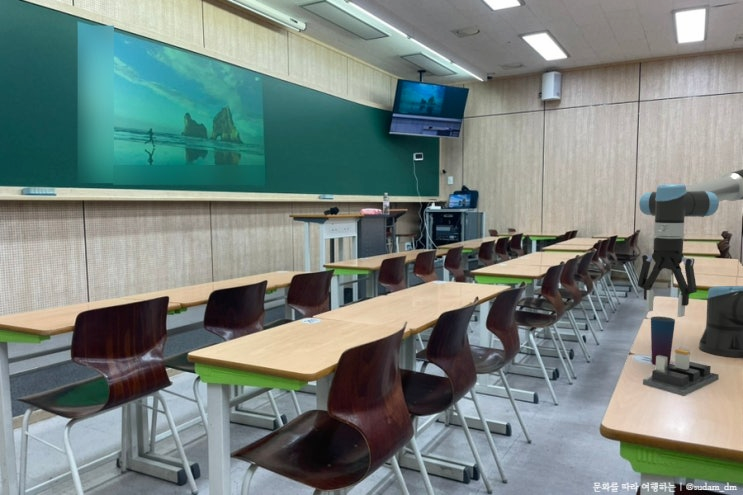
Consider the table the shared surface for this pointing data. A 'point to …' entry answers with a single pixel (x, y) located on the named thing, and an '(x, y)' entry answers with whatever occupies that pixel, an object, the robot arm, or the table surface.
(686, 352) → the handle
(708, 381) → the panel
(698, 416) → the table surface
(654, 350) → the cup
